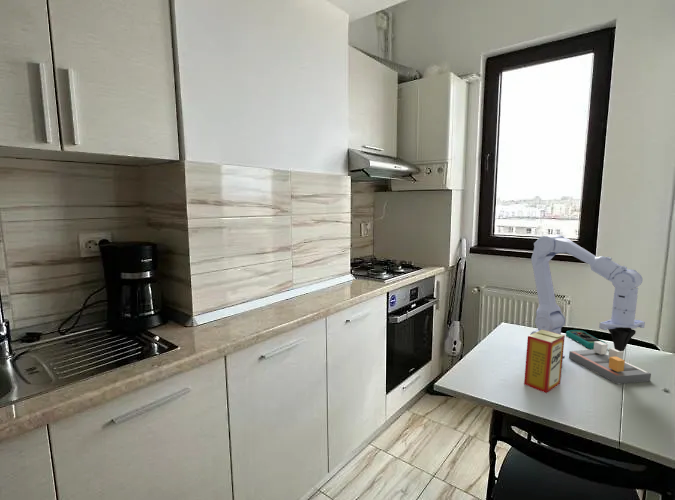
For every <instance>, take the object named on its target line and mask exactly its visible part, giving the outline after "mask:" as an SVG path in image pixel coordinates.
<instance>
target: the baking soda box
mask: <svg viewBox="0 0 675 500" xmlns="http://www.w3.org/2000/svg"><path fill="white" fill-rule="evenodd" d="M530 334H531V333H530ZM530 334H529V335H528V336H527V342H526V354H525V355H526V356H525V357H526V358H525V369H524V381H523V382H524V383H523V384H524V385H525V386H527V387H530V388H533V389H535V390H538V391H540V392H543V393H546V394H547V393H549V392H551V391H552V390H553V389H555V388H556V387H557V386H560V384H561V380H562V372H563V371H562V369H563V360H564V357H563V355H564V347H565V338H566V337H565V336H566V334H562V333H561V334H557V333H554V332H550V331H546V330H543V329H542V330H540V331H538V332H535V333H533V334H531V335H530Z"/></svg>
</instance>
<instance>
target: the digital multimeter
mask: <svg viewBox="0 0 675 500" xmlns="http://www.w3.org/2000/svg"><path fill="white" fill-rule="evenodd" d="M565 336H566V337H568V338H569V339H571V340H573V341H575V342H577V343H579V344H580V345H582V346H584V347H585V348H587V349H588V350H594V342H595V341H601V342H603V343H605V344H608V343H607V342H605V341H604V340H602V339H600V338H597V337H595V336H593V335H591V334H589V333H587V332H586V331H584V330H577V329H573V330H572V329H571V330H567V331H566V332H565Z"/></svg>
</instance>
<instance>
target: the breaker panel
mask: <svg viewBox="0 0 675 500" xmlns="http://www.w3.org/2000/svg"><path fill="white" fill-rule="evenodd" d="M601 341H602V340H601ZM601 341H595V342H594V349H585V350H569V353H568V354H569V355H568V358H569V359H570V360H572V361H574V362H576V363H578V364H580V365H581V366H583V367H584V368H586V369H589V370H590V371H593V372H594V373H596V374H597V375H600V376H601V377H604V378H606V379H607V380H609V381H611V382H613V383H614V384H617V385H619V384H620V385H621V384H631V383H632V384H633V383H644V382H651V377H652V373H651V372H648V371H646V370H644V369H642V368H640V367H638V366H636V365H633V364H631V363H629V362H627V361H625V363H624V371H620V372H617V371H615V370H613V369H611V368H609V358H610V357H615V356H616V357H618V358H621V359H623V360H624V351H625V350H624V351H618V350H616V349H615V348H614V347H610V348H609V349H608V345H609V344H608V343H607V344H605V343H606V342H605V343H603V342H601Z"/></svg>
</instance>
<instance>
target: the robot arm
mask: <svg viewBox="0 0 675 500" xmlns="http://www.w3.org/2000/svg"><path fill="white" fill-rule="evenodd" d="M533 246H534V247H533V250H532V251H533V252H532V255H531V259H530V260H531V266H532V271H533V276H534V282H535V288H536V293H537V294H536V295H537V299H538V307H537V309H536V311H535V314H536V317H535V319H534V322H535V326H536V328H537V330H533V331H531V332H530V334H529V335H531V334H533V333H535V332H538V331H540V330H542V329H543V330H546V331H550V332H554V333H557V334H561V335H562V328H563V327H564V326H565V324H566V318H565V316H564V314H563V312H562V308H561V307H560V306H559V305H558V304H557V302H556V301H557V300H556V295H555V291H554V285H553V279H552V274H551V273H552V272H551V269H550V261H551V260H552V259H553V258H554V257H555V256H556V255H558V254H559V253H560V254H568V255H571V256H572V257H574V258H576V259H578V260H579V261H581V262H584V263H585V264H587V265H589V267H590V269H591V271H592V272H593V273H595V274H597V275H599V276H601V277H603V278H604V279H606V280H607V281H609V282H611V283H612V285H613V286H614V291H613V299H612V308H611V309H612V310H611V315H610V316H611V318H610V319H608V320H604V321H601V322H599V325H598V328H599V329H600V330H603V331H607V330H608V332H609V333H610V335H611V339H612V342H613V348H615V349H616V350H618V351H625V349H626V348H627V345H628V343H629V342H630V340H631V339H632V338H633V336H635V335H636V334H637V333H636V332H637V331H636V330H635V329H637V328H640V329H644V328H645V325H646V322H645V321H642V320H640V319H636V311H637V304H638V292H639V288H638V287H640V286H641V285H642V283H643V277H642V274H641V273H640V272H639V271H637V270H636V269H632V268H631V269H630V268H629V269H628V267H627V266H626V265H620V264H619V263H617V262H616V261H614V260H613V258H612V257H610V256H604V255H600V256H597V255H595V254H593V252H592V253H591V252H590V251H588V250H587V249H585V248H584V247H581V246H580V245H579V244H577V243H576V242H574V241H572V240H571V239H570V238H568V237H565V236H564V235H561V234H553V235H541V236H540V237H539V238H538V239H537V240H536V241H535V242H533ZM565 357H566V355H565V354H563V358H565Z"/></svg>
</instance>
